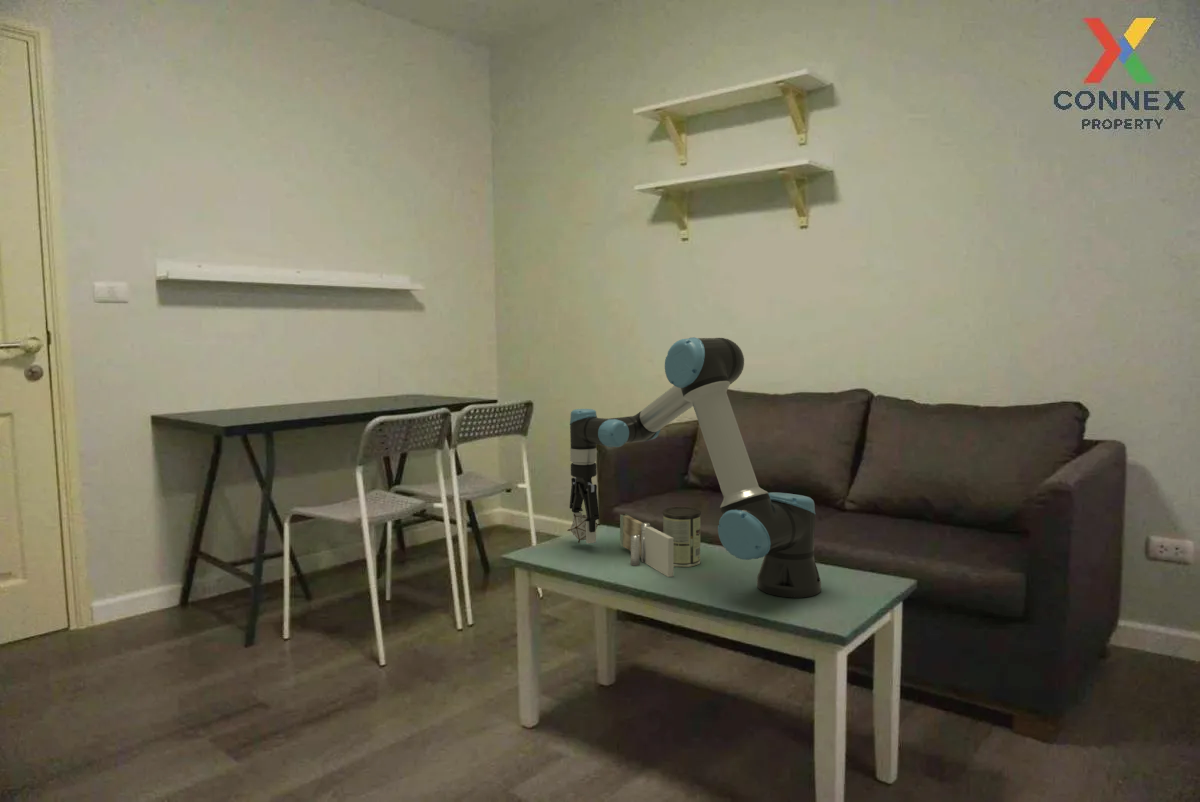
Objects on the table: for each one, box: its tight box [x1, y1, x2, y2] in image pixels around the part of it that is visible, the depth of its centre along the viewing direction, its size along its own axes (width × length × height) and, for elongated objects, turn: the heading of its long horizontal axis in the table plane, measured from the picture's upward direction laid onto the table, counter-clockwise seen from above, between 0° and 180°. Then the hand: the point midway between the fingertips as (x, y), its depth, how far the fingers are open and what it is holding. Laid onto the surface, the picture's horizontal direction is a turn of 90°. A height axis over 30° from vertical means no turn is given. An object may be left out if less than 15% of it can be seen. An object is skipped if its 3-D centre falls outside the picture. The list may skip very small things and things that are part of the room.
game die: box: [567, 514, 601, 544], centre depth 224 cm, size 9×8×10 cm
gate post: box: [640, 522, 651, 564], centre depth 210 cm, size 2×2×10 cm
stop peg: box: [630, 534, 641, 567], centre depth 207 cm, size 2×2×8 cm
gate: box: [619, 513, 643, 558], centre depth 217 cm, size 13×2×9 cm, turn 23°
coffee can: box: [662, 506, 702, 568], centre depth 210 cm, size 10×10×14 cm
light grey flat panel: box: [644, 526, 674, 578], centre depth 203 cm, size 13×2×10 cm, turn 23°
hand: (584, 538), depth 225 cm, fingers closed on game die, 10 cm apart
